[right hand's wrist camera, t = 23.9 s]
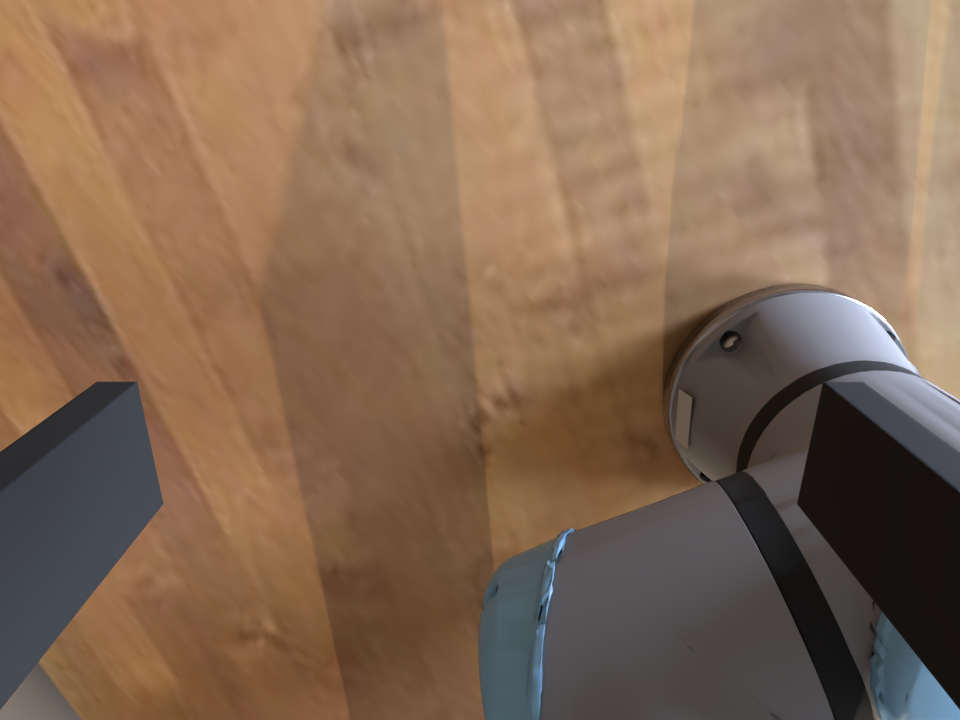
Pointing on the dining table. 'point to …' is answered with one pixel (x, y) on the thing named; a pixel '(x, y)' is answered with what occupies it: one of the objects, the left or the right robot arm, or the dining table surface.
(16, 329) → the dining table surface
